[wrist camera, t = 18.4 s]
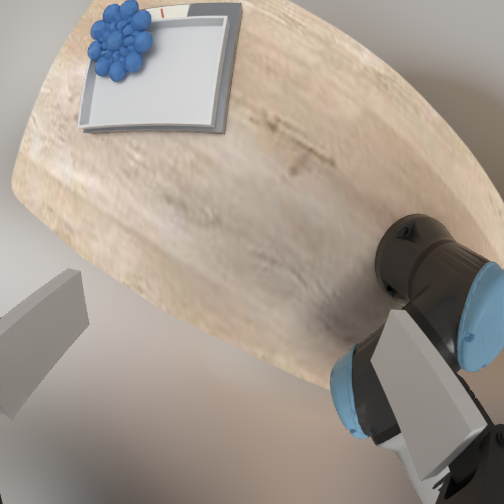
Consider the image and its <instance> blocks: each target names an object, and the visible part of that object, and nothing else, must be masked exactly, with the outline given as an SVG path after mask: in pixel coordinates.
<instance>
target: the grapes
mask: <svg viewBox="0 0 504 504" xmlns="http://www.w3.org/2000/svg"><path fill="white" fill-rule="evenodd" d="M138 10H139V6H138V3H137V1H135V0H127V1H125V2H124V3H123V4H122V5H121V7H120V6H119V5H118V4H112V5H109V6H108V7H107V8H106V9H105V11H104V13H103V20H99V21H96V22H95V23H94V24H93V26H92V28H91V37H92V38H93V39H95V40H96V41H93V42H92V43H91V44H90V46H89V48H88V57H89V58H90V59H91V60H94V61H96V60H97V62H96V65H95V72H96V74H97V75H98V76H101V77H104V76H106V75H108V73H109V78H110V79H111V80H112V81H115V82H119V81H121V80H122V79H123V78H124V77H125V75H126V72H130V73H134V72H137V71H138V70H139V69H140V67H141V66H142V63H143V59H142V55H141V54H140V53H144V52H146V51H147V50H149V49H150V47H151V46H152V43H153V37H152V35H151V33H150V32H147V31H144V30H146V29H147V28H148V27H149V25H150V23H151V14H150V13H149V12H148V11H146V10H141V11H138Z"/></svg>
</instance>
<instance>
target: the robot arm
mask: <svg viewBox="0 0 504 504" xmlns="http://www.w3.org/2000/svg"><path fill="white" fill-rule="evenodd" d="M375 269H376V275H377V279H378V281H379V283H380V285H381V287H382V288H383V289H384V290H385V291H386V293H387V294H388V295H389V296H390V297H391V298H393V299H394V300H396V301H398V302H401V303H404V304H406V305H405V306H404V307H403V308H402V309H401V310H394V309H391V310H390V313H389V316H388V318H387V321H386V323H384V324H383V325H382V326H381V327H380V328H378V329H377V330H376V331H375V332H374V333H372V334H371V335H370V336H369V337H367V338H366V339H365V340H364V341H362V342H361V343H360V344H356V345H355V346H354V347H353V348H352V350H351V351H350V352H349V353H347V354H346V355H345V356H344V357H342V358H341V359H340V360H339V361H338V362H337V363H336V364H335V365H334V367H333V368H332V371H331V375H330V389H331V395H332V399H333V402H334V406H335V408H336V411H337V413H338V415H339V417H340V419H341V421H342V423H343V425H344V426H345V427H346V429H349V430H350V433H351V434H352V435H353V436H354V437H356V438H359V439H363V438H369V437H370V436H371V438H372V439H373V441H374V443H375V445H376V446H377V447H380V448H385V449H391V450H393V451H394V452H395V454H396V456H397V458H398V459H399V461H400V463H401V465H402V466H403V468H404V470H405V472H406V473H407V475H408V477H409V479H410V480H411V482H412V484H413V486H414V487H415V489H416V491H417V493H418V494H419V497H420V498H421V500H422V502H423V504H504V424H498V425H494V424H493V422H492V421H491V419H490V418H489V416H488V414H487V413H486V411H485V410H484V408H483V407H482V405H481V404H480V402H479V401H478V399H477V398H475V395H474V393H473V392H472V390H470V388H469V386H468V385H467V383H466V382H465V380H464V379H463V378H462V377H461V376H459V375H458V374H457V372H458V371H459V370H460V369H461V368H462V369H463V370H466V371H468V372H476V371H479V370H480V369H481V368H484V367H486V366H487V365H489V364H490V363H491V362H492V361H493V360H494V359H495V358H496V357H497V355H498V354H499V353H500V351H501V350H502V348H503V347H504V270H503V269H502V268H501V267H500V266H499V265H498V264H497V263H495V262H491V261H490V260H488V259H486V258H484V257H483V256H481V255H479V254H477V253H476V252H474V251H472V250H470V249H468V248H466V247H465V246H463V245H461V244H459V243H457V242H456V241H455V240H454V238H453V237H452V236H451V234H450V233H449V232H448V230H447V229H446V228H445V226H444V225H443V224H442V223H440V222H439V221H438V220H436V219H434V218H431V217H429V216H427V215H422V214H414V215H409V216H406V217H404V218H402V219H400V220H399V221H397V222H396V223H395V224H394V225H393V226H392V227H391V228H390V229H389V230H388V231H387V232H386V234H385V235H384V237H383V239H382V240H381V243H380V245H379V247H378V251H377V255H376V261H375ZM88 326H89V320H88V314H87V309H86V304H85V297H84V291H83V285H82V278H81V272H80V271H78V270H73V269H66V270H65V271H63V272H62V273H61V274H59V275H58V276H56V277H55V278H53V279H52V280H51V281H49V282H48V283H46V284H45V285H44V286H42V287H41V288H39V289H38V290H37V291H35V292H34V293H33V294H31V295H30V296H29V297H27V298H26V299H25V300H23V301H22V302H21V303H20V304H18V305H17V306H16V307H15V308H13V309H12V310H11V311H9V312H8V313H7V314H6V315H4V316H3V317H1V318H0V414H1V415H3V416H4V417H5V418H7V419H8V420H10V421H12V420H13V418H14V417H15V416H16V414H17V413H18V412H19V410H20V409H21V407H22V406H23V404H24V403H25V402H26V401H27V399H28V398H29V397H30V395H31V394H32V393H33V391H34V390H35V389H36V388H37V386H38V385H39V384H40V383H41V381H42V380H43V379H44V377H45V376H46V375H47V374H48V373H49V371H50V370H51V369H52V368H53V366H54V365H55V364H56V363H57V361H58V360H59V359H60V358H61V357H62V356H63V354H64V353H65V352H66V351H67V350H68V348H69V347H70V346H71V345H72V344H73V343H74V342H75V340H76V339H77V338H78V337H79V336H80V334H81V333H82V332H83V331H84V330H85V329H86V328H87V327H88ZM0 504H3V503H2V499H1V495H0Z"/></svg>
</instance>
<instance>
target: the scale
mask: <svg viewBox="0 0 504 504" xmlns="http://www.w3.org/2000/svg"><path fill="white" fill-rule="evenodd" d="M142 10H146V11H148V12H149V13H150V14H151V23H150V25H149V27H148V28H147V29H146V30H144V31H147V32H150V33H151V35H152V37H153V43H152V46H151V47H150V49H149V50H147V51H146V52H144V53H140V54H141V55H142V59H143V63H142V66H141V67H140V69H139V70H138V71H137V72H134V73H130V72H126V75H125V77H124V78H123V79H122V80H121V81H119V82H115V81H112V80H111V79H110V78H109V73H108V75H106V76H104V77H101V76H98V75H97V74H96V72H95V65H96V62H97V60H96V61H94V60H91V59H90V58H89V60H88V65H87V69H86V74H85V79H84V84H83V90H82V96H81V102H80V109H79V116H78V125H77V128H81V129H84V131H83V133H93V134H94V133H109V132H133V131H179V132H204V133H220V134H225V129H226V120H227V112H228V105H229V97H230V90H231V82H232V75H233V69H234V62H235V55H236V49H237V43H238V36H239V30H240V24H241V19H242V13H243V11H242V4H241V3H195V4H181V5H171V6H162V7H155V8H148V9H142ZM138 11H141V10H138ZM94 41H96V40H95V39H94Z"/></svg>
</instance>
